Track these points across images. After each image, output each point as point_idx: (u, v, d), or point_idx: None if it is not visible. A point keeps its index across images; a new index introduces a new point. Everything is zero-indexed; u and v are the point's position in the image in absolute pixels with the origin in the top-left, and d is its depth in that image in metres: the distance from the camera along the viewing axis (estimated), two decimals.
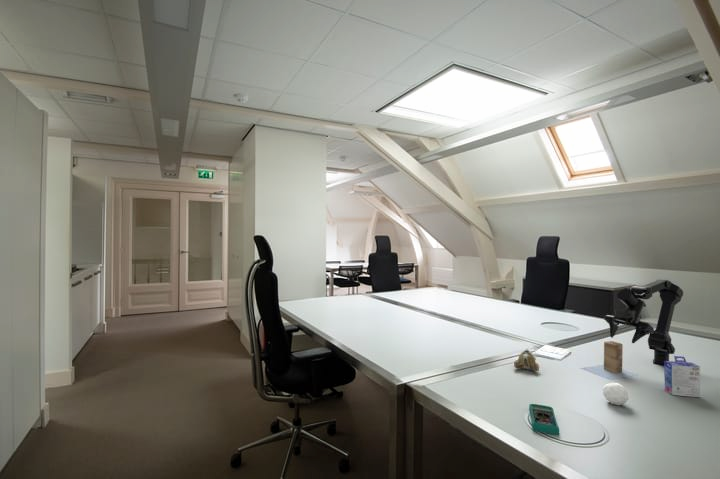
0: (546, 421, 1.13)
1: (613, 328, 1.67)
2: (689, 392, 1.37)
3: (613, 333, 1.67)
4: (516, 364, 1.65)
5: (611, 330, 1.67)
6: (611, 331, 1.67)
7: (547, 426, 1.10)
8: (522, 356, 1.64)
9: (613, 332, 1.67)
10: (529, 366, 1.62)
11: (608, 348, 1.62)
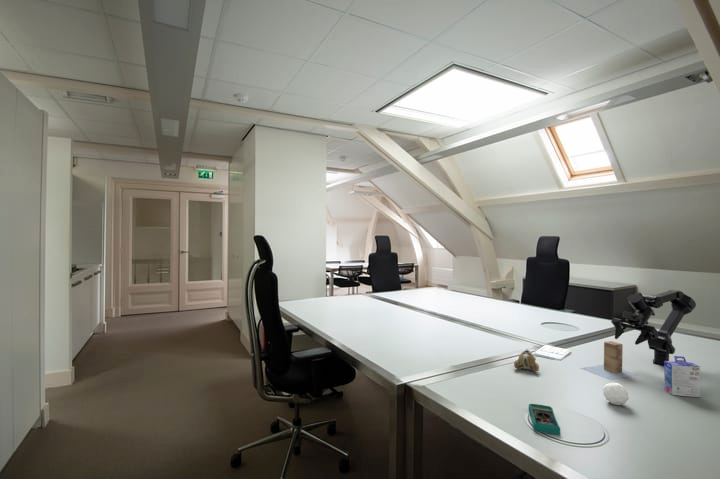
0: (547, 421, 1.13)
1: (618, 330, 1.71)
2: (689, 392, 1.37)
3: (618, 335, 1.70)
4: (516, 364, 1.65)
5: (616, 332, 1.71)
6: (616, 333, 1.71)
7: (548, 426, 1.10)
8: (522, 356, 1.64)
9: (618, 334, 1.70)
10: (529, 366, 1.62)
11: (608, 348, 1.62)
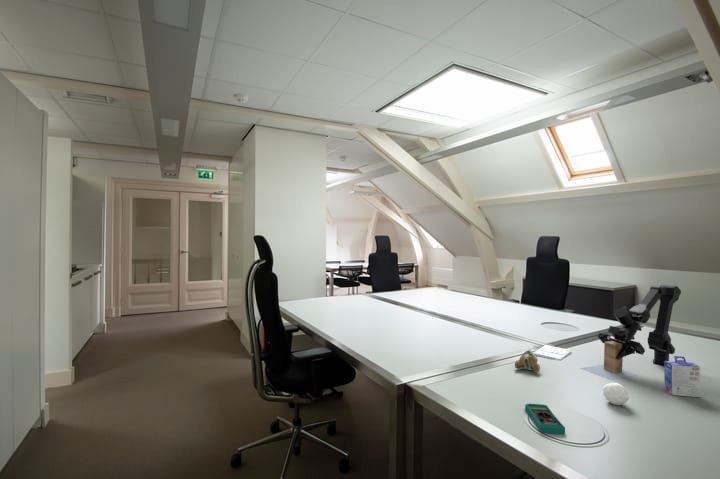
0: (550, 421, 1.14)
1: None
2: (689, 392, 1.37)
3: None
4: (517, 364, 1.65)
5: None
6: None
7: (554, 426, 1.10)
8: (523, 356, 1.64)
9: None
10: (530, 367, 1.62)
11: (608, 348, 1.62)
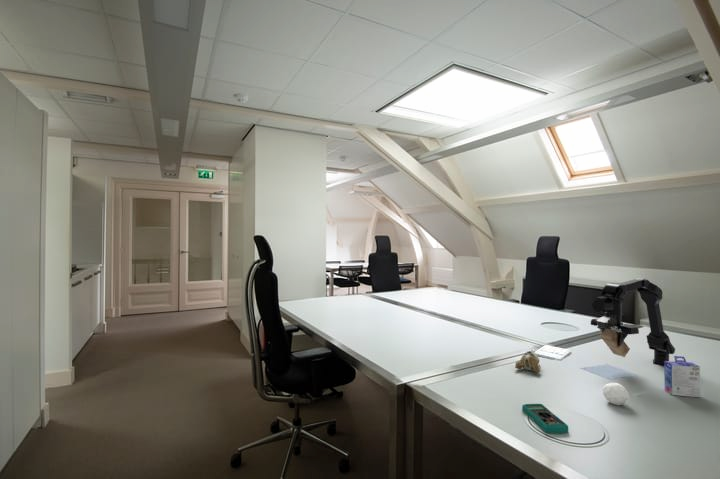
0: (553, 420, 1.14)
1: None
2: (689, 392, 1.37)
3: None
4: (517, 364, 1.64)
5: None
6: None
7: (559, 426, 1.10)
8: (524, 357, 1.63)
9: None
10: (530, 367, 1.61)
11: (607, 340, 1.62)
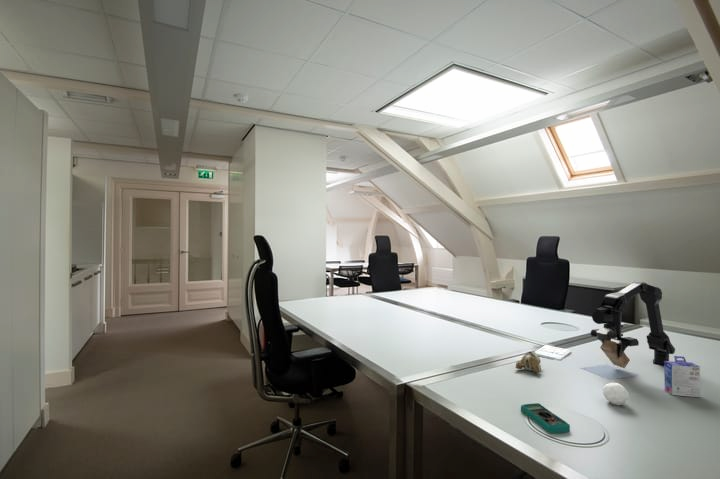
0: (554, 420, 1.14)
1: None
2: (689, 392, 1.37)
3: None
4: (518, 365, 1.64)
5: None
6: None
7: (561, 425, 1.11)
8: (524, 357, 1.63)
9: None
10: (531, 367, 1.61)
11: (607, 352, 1.62)
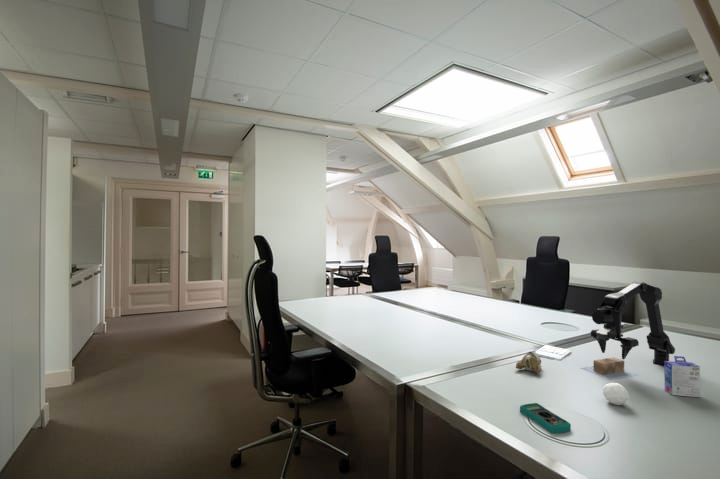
0: (555, 419, 1.14)
1: (602, 343, 1.67)
2: (689, 392, 1.37)
3: (603, 348, 1.67)
4: (518, 365, 1.64)
5: (601, 346, 1.67)
6: (601, 347, 1.67)
7: (563, 425, 1.11)
8: (525, 357, 1.63)
9: (603, 347, 1.67)
10: (531, 367, 1.60)
11: None
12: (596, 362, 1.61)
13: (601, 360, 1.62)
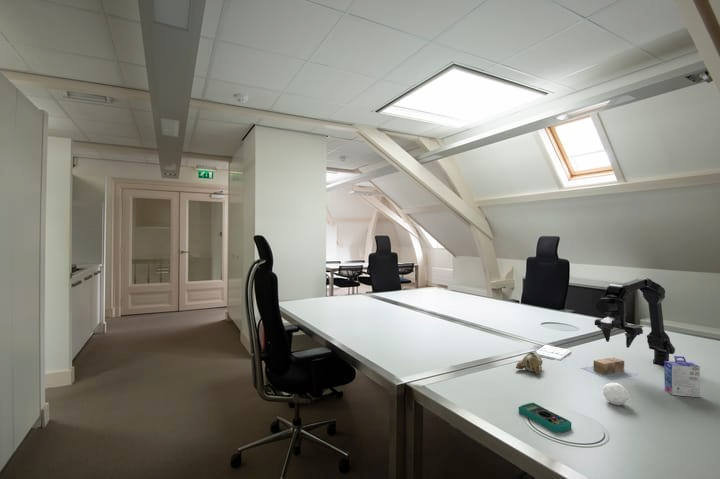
0: (556, 419, 1.15)
1: (606, 332, 1.68)
2: (689, 392, 1.37)
3: (608, 337, 1.68)
4: (519, 365, 1.64)
5: (605, 335, 1.68)
6: (605, 336, 1.68)
7: (565, 424, 1.12)
8: (525, 357, 1.63)
9: (607, 336, 1.68)
10: (531, 368, 1.60)
11: None
12: (596, 362, 1.61)
13: (601, 360, 1.62)
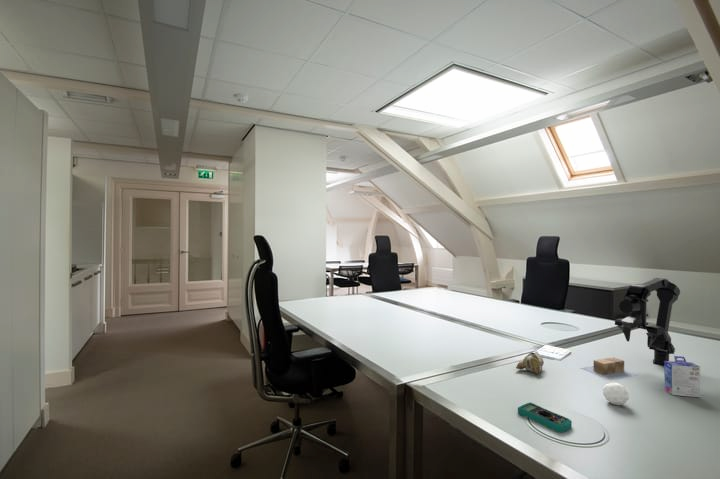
0: (557, 418, 1.15)
1: (626, 332, 1.70)
2: (689, 392, 1.37)
3: (628, 336, 1.70)
4: (519, 365, 1.64)
5: (625, 335, 1.70)
6: (625, 336, 1.70)
7: (567, 423, 1.12)
8: (526, 357, 1.62)
9: (628, 335, 1.70)
10: (532, 368, 1.60)
11: None
12: (596, 362, 1.61)
13: (601, 360, 1.62)
